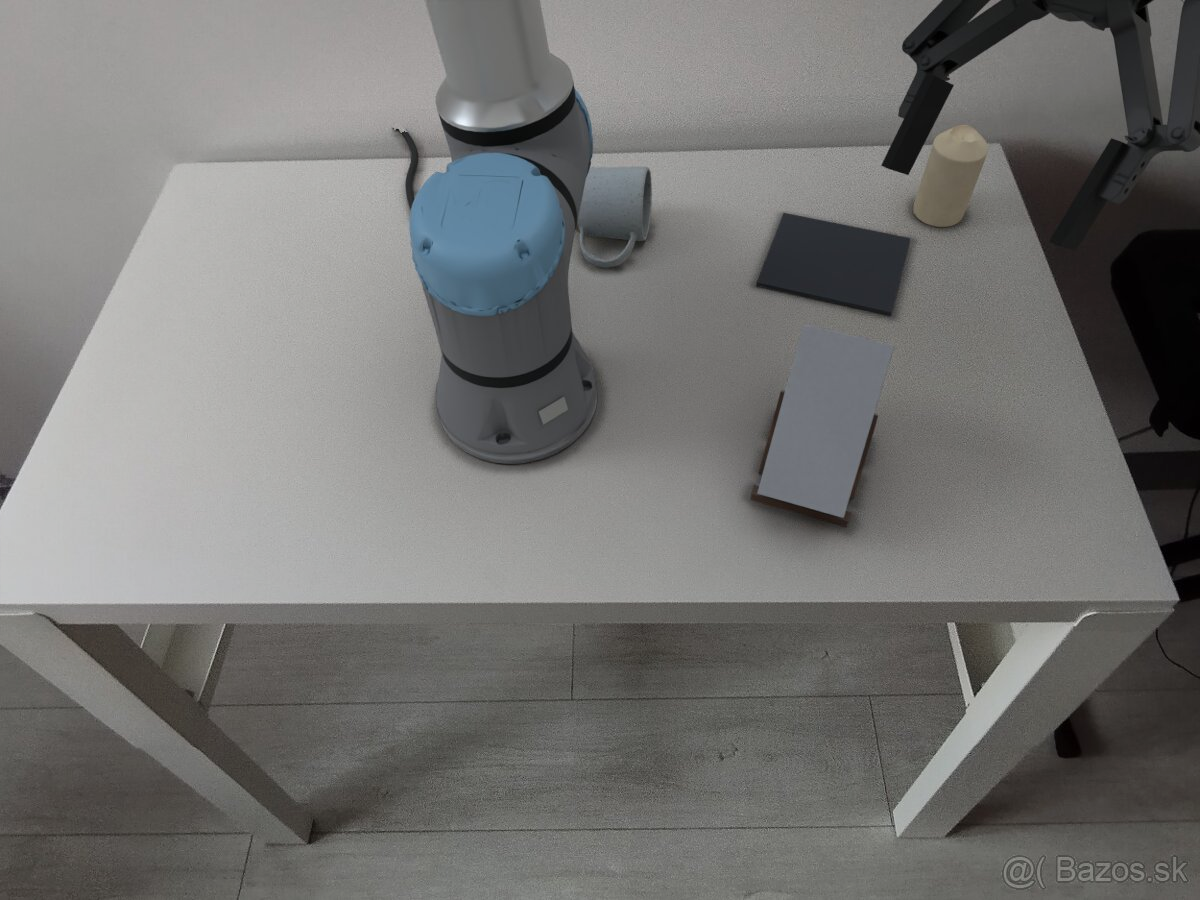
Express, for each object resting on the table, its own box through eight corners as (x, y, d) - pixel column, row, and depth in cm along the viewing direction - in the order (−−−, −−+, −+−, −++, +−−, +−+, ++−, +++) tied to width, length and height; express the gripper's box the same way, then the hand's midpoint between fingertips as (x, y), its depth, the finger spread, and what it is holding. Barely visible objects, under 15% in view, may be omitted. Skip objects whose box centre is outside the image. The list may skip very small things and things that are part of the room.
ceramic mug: (582, 205, 98) (578, 148, 92) (652, 210, 97) (653, 152, 91) (567, 269, 92) (561, 212, 86) (641, 274, 91) (641, 217, 85)
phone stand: (775, 424, 80) (784, 378, 74) (864, 448, 78) (881, 402, 72) (748, 506, 74) (757, 462, 69) (844, 533, 72) (860, 491, 67)
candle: (968, 227, 93) (999, 148, 85) (917, 228, 93) (943, 149, 85) (957, 196, 96) (986, 116, 88) (908, 196, 97) (932, 117, 89)
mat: (756, 285, 89) (756, 282, 89) (783, 216, 96) (783, 212, 95) (890, 315, 86) (891, 312, 85) (909, 241, 92) (910, 237, 92)
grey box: (790, 399, 80) (816, 285, 68) (864, 418, 78) (904, 304, 67) (750, 523, 72) (772, 417, 60) (832, 547, 70) (871, 443, 59)
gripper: (1432, -92, 43) (1168, 289, 52) (1009, -152, 58) (864, 153, 68) (1415, -154, 38) (1127, 280, 47) (957, -201, 53) (808, 135, 63)
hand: (972, 206), depth 58 cm, fingers open, 13 cm apart
